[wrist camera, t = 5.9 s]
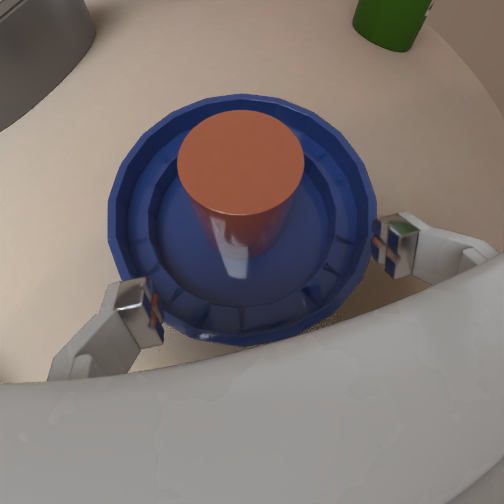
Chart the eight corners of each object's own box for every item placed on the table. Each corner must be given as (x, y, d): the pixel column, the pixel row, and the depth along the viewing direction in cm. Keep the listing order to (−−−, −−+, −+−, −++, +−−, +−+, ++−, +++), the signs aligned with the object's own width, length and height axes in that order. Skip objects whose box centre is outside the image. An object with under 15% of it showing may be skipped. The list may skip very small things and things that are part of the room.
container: (113, 7, 29) (96, -51, 17) (63, 105, 23) (10, 23, 10) (7, 54, 28) (-18, 14, 15) (-47, 158, 22) (-94, 118, 9)
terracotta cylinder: (298, 219, 20) (329, 158, 12) (241, 277, 19) (240, 243, 11) (241, 169, 21) (241, 93, 13) (184, 220, 20) (152, 159, 12)
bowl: (389, 224, 21) (418, 202, 16) (243, 388, 18) (242, 407, 13) (242, 103, 23) (242, 66, 19) (95, 226, 20) (66, 204, 16)
